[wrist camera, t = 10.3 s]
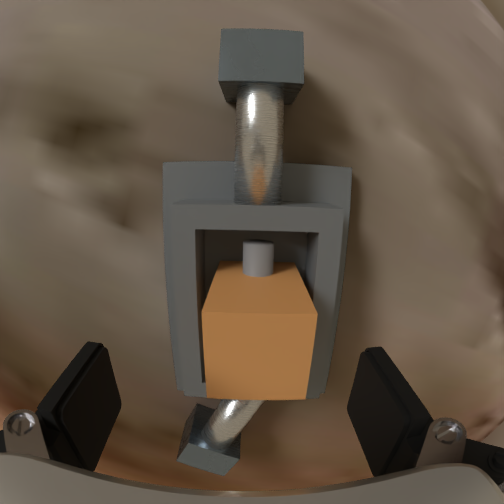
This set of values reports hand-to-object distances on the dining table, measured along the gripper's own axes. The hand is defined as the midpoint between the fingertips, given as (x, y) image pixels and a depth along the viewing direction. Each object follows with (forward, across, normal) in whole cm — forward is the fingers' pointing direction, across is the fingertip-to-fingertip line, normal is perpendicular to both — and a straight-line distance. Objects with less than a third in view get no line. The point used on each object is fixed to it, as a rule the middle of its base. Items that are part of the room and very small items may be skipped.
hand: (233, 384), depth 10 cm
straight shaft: (+10, -1, -10) cm, 14 cm away
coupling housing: (+10, -1, 0) cm, 10 cm away
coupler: (+9, -1, 0) cm, 9 cm away
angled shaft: (+10, +1, +10) cm, 14 cm away
